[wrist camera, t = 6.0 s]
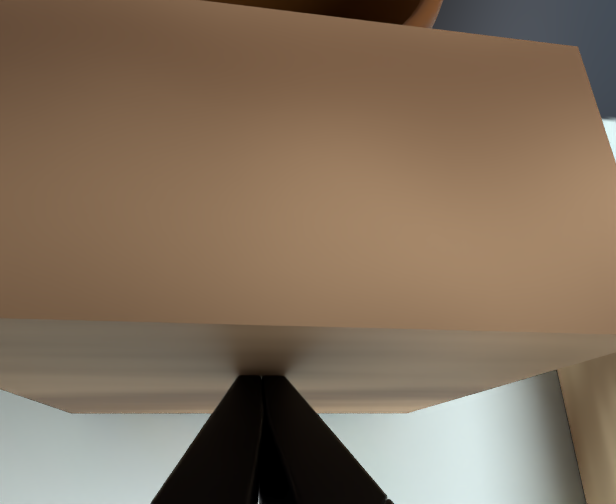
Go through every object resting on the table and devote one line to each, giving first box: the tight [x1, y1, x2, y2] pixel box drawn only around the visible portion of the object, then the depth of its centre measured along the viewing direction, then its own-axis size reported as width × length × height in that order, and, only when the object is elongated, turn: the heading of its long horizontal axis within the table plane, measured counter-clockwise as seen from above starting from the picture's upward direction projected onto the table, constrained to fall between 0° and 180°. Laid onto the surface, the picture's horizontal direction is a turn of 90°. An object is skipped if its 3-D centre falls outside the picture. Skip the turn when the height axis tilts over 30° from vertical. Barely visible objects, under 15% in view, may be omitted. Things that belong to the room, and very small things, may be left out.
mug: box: [203, 0, 443, 29], centre depth 15 cm, size 12×8×9 cm, turn 176°
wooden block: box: [0, 0, 616, 413], centre depth 11 cm, size 5×10×10 cm, turn 91°
